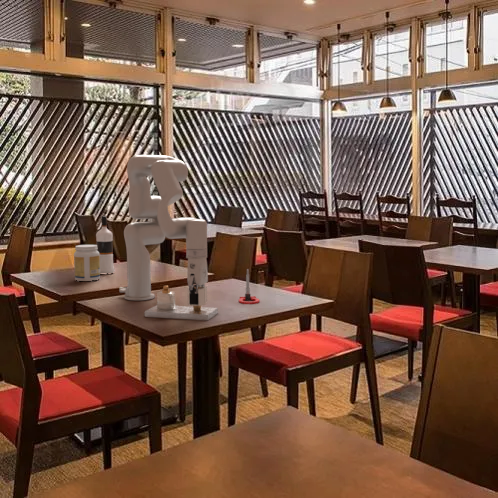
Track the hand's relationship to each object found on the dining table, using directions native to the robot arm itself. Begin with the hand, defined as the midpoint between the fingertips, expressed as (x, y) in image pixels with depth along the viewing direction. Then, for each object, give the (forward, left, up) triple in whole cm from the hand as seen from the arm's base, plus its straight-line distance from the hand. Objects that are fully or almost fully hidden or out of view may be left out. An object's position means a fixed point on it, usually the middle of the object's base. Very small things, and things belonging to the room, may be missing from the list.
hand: (197, 301), depth 230 cm
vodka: (-78, +83, -5) cm, 114 cm away
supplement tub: (-77, +62, -5) cm, 99 cm away
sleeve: (0, 0, -1) cm, 1 cm away
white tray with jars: (-6, 0, -5) cm, 8 cm away
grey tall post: (+12, +30, -5) cm, 33 cm away
